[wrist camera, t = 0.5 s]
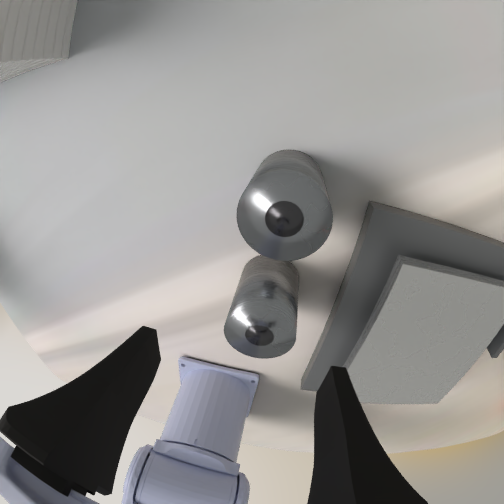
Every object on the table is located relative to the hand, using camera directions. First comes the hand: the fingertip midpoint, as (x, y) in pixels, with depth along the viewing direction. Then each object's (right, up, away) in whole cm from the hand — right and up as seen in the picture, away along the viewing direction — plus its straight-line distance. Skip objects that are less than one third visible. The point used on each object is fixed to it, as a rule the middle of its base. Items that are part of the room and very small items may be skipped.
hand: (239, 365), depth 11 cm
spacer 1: (+3, +9, +6) cm, 11 cm away
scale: (+14, -1, +9) cm, 17 cm away
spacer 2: (+2, +3, +9) cm, 10 cm away
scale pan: (+14, -2, +8) cm, 16 cm away
